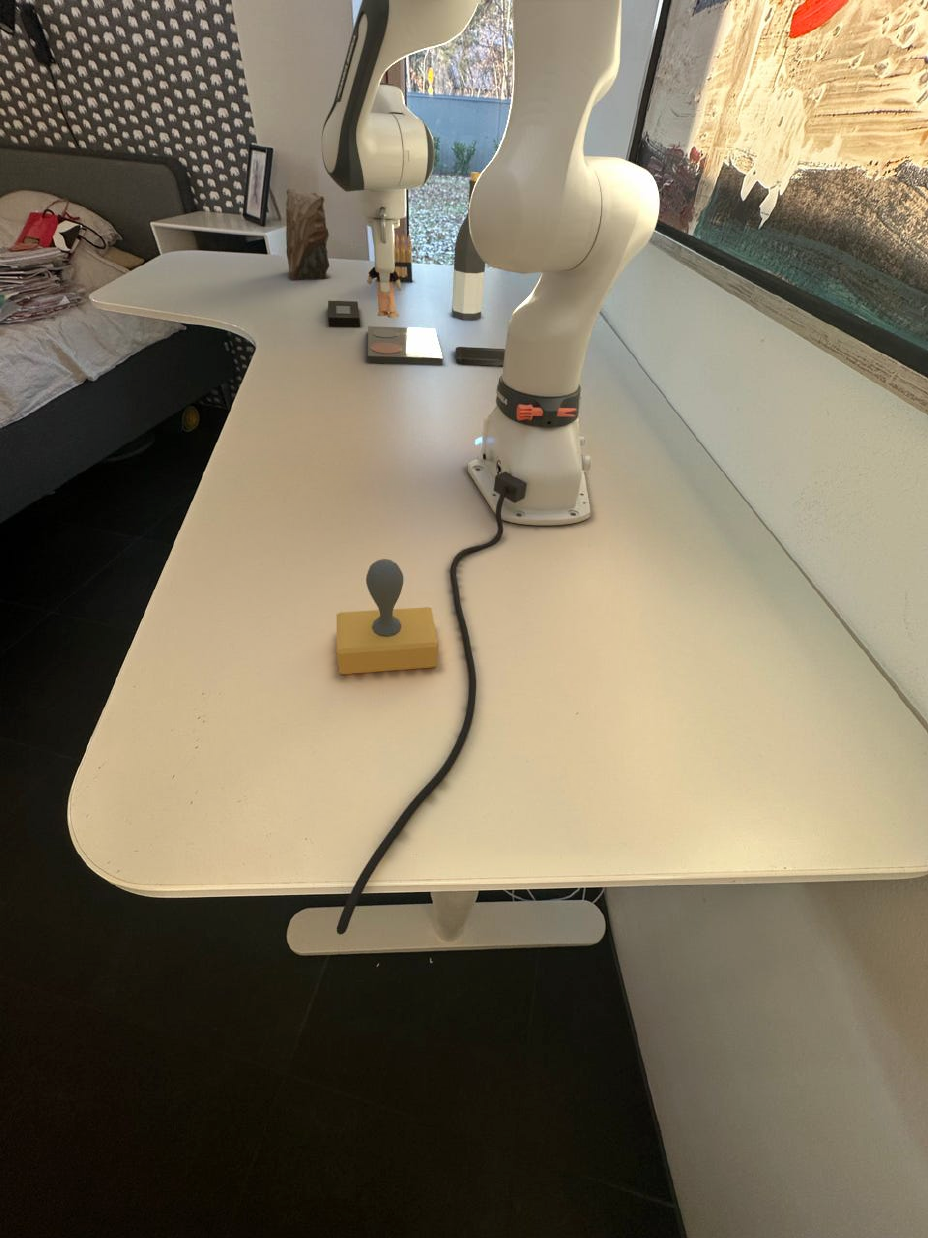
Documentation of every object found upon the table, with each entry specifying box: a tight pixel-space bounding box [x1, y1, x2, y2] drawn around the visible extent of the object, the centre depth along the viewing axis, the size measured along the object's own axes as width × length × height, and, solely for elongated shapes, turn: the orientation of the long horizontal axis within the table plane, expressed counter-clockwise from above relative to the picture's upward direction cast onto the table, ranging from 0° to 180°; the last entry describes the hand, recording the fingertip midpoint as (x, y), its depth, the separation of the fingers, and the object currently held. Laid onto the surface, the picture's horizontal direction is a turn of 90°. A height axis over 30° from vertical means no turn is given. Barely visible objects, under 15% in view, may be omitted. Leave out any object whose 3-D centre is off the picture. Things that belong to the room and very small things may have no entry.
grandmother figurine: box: [366, 243, 403, 319], centre depth 111 cm, size 8×4×13 cm, turn 80°
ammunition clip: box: [376, 233, 413, 283], centre depth 164 cm, size 11×2×12 cm, turn 102°
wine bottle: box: [451, 171, 486, 321], centre depth 136 cm, size 8×8×30 cm
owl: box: [285, 188, 330, 281], centre depth 159 cm, size 13×13×20 cm
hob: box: [367, 325, 444, 366], centre depth 125 cm, size 20×16×2 cm
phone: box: [454, 346, 505, 367], centre depth 123 cm, size 8×1×15 cm
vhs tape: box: [327, 300, 361, 328], centre depth 137 cm, size 8×14×2 cm, turn 10°
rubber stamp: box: [336, 558, 439, 675], centre depth 54 cm, size 10×6×12 cm, turn 99°
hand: (384, 287), depth 112 cm, fingers closed on grandmother figurine, 3 cm apart
